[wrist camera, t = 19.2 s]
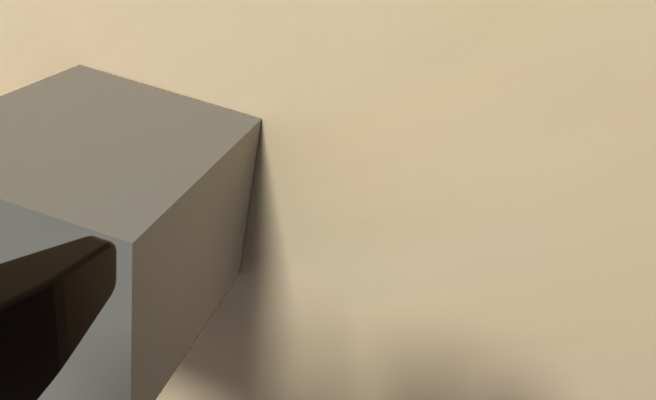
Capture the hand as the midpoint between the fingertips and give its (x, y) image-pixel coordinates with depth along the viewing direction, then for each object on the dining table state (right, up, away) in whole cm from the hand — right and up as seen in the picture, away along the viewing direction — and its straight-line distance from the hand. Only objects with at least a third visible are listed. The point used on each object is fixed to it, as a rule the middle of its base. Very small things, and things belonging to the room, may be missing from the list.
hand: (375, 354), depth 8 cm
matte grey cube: (-8, +3, +15) cm, 17 cm away
